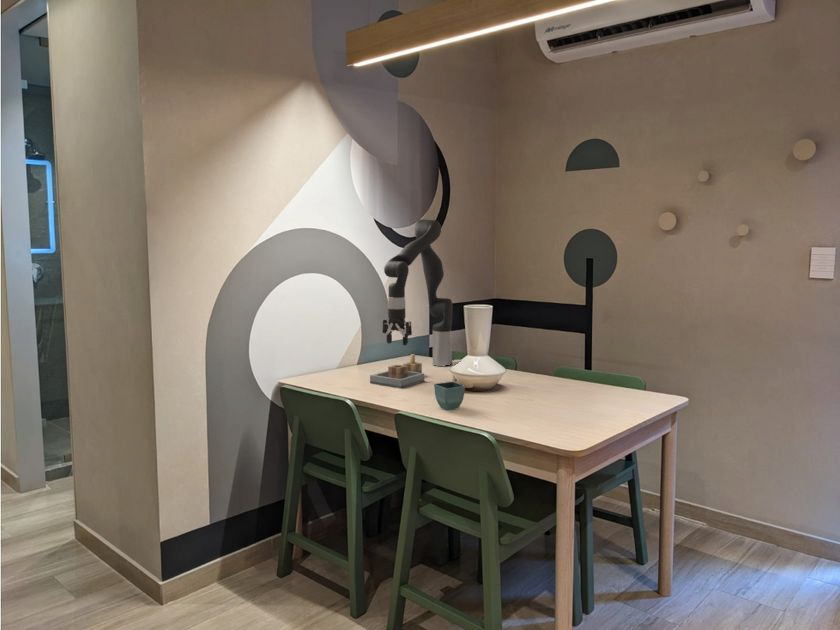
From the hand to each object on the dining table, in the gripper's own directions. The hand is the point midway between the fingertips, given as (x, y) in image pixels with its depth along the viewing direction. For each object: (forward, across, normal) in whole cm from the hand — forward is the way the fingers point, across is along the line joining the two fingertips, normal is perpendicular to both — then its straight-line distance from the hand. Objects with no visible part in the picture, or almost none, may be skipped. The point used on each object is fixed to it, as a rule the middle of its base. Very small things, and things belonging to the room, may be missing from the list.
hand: (397, 344), depth 298 cm
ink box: (+17, -29, -8) cm, 35 cm away
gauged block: (+17, +2, -14) cm, 22 cm away
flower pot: (+17, -43, +24) cm, 52 cm away
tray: (+17, 0, 0) cm, 17 cm away
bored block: (+16, 0, 0) cm, 16 cm away
